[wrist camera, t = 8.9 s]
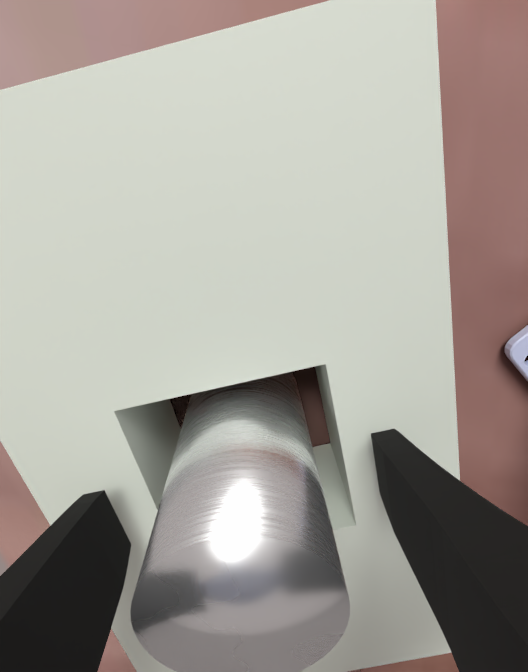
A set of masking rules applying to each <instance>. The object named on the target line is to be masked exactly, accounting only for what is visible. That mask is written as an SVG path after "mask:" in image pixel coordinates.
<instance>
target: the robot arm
mask: <svg viewBox="0 0 528 672" xmlns="http://www.w3.org/2000/svg"><path fill="white" fill-rule="evenodd" d="M505 354H506V356H507V357H508V359H509V360H510V361H511V362H512V363H513V365H514V366H515V367H516V368H517V369H518V371H519V372H520V373H521V374H522V375H523V377H524V378H525V379H526V380H527V381H528V360H527V361H525V358H526V357H527V356H528V325H527V326H526V327H525V328H523V329H522V330H521V331H520V332H518V333H517V334H516V335H514V336H513V337H512V338H511V339H510V340H509V341H508V342H507V344H506V346H505ZM524 361H525V362H524ZM371 439H372V446H373V452H374V459H375V465H376V472H377V478H378V485H379V492H380V496H381V498H382V501H383V504H384V507H385V509H386V512H387V515H388V518H389V520H390V523H391V526H392V528H393V531H394V533H395V536H396V538H397V540H398V542H399V544H400V546H401V548H402V550H403V552H404V554H405V556H406V558H407V560H408V562H409V564H410V566H411V569H412V571H413V573H414V575H415V577H416V579H417V581H418V583H419V585H420V587H421V589H422V591H423V593H424V595H425V597H426V599H427V601H428V603H429V605H430V607H431V609H432V611H433V613H434V615H435V617H436V619H437V621H438V624H439V626H440V628H441V630H442V632H443V634H444V636H445V639H446V641H447V643H448V645H449V648H450V650H451V652H452V655H453V657H454V660H455V662H456V665H457V667H458V670H459V672H528V526H526V525H525V524H523V523H521V522H520V521H518V520H517V519H515V518H513V517H512V516H510V515H509V514H507V513H506V512H504V511H503V510H501V509H500V508H498V507H497V506H495V505H494V504H492V503H491V502H489V501H488V500H486V499H485V498H483V497H482V496H480V495H479V494H477V493H476V492H475V491H473V490H472V489H470V488H469V487H468V486H466V485H465V484H464V483H462V482H461V481H460V480H458V479H457V478H456V477H454V476H453V475H452V474H450V473H449V472H448V471H446V470H445V469H444V468H442V467H441V466H440V465H438V464H437V463H436V462H435V461H433V460H432V459H431V458H430V457H428V456H427V455H426V454H425V453H423V452H422V451H421V450H420V449H419V448H417V447H416V446H415V445H414V444H413V443H412V442H410V441H409V440H408V439H407V438H406V437H405V436H403V435H402V434H401V433H400V432H399V431H397V430H396V429H390V430H385V431H380V432H375V433H371ZM130 550H131V543H130V541H129V539H128V537H127V535H126V532H125V530H124V528H123V526H122V524H121V522H120V520H119V518H118V516H117V514H116V512H115V510H114V508H113V506H112V504H111V502H110V500H109V498H108V496H107V494H106V492H105V490H102V491H97V492H92V493H88V494H83V495H82V496H81V497H80V498H78V499H77V500H76V501H75V502H74V503H73V504H72V505H71V506H70V507H69V508H68V509H67V510H66V511H65V512H64V513H63V514H62V515H61V516H60V517H59V518H58V519H57V520H56V521H55V522H54V523H53V524H52V525H51V526H50V527H49V528H48V529H47V530H46V531H45V532H44V533H43V534H42V535H41V536H40V537H39V538H38V539H37V540H36V541H35V542H34V543H33V544H32V545H31V546H30V547H29V548H28V549H27V550H26V551H25V552H24V553H23V554H22V555H21V556H20V557H19V558H18V559H17V560H16V561H15V562H14V563H13V564H12V565H11V566H10V567H9V568H8V569H7V570H6V571H5V572H4V573H3V574H2V575H1V576H0V672H97V671H98V668H99V664H100V661H101V658H102V655H103V652H104V649H105V645H106V642H107V639H108V636H109V633H110V630H111V626H112V623H113V620H114V617H115V614H116V610H117V607H118V604H119V600H120V597H121V594H122V590H123V587H124V582H125V577H126V573H127V568H128V562H129V556H130Z"/></svg>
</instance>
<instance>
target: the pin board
mask: <svg viewBox="0 0 528 672" xmlns="http://www.w3.org/2000/svg"><path fill="white" fill-rule="evenodd" d="M310 367H315V369H316V374H317V379H318V384H319V389H320V394H321V399H322V404H323V409H324V414H325V419H326V424H327V429H328V434H329V439H330V443H329V444H324V445H320V446H315V447H313V451H314V455H315V459H316V464H317V468H318V472H319V476H320V480H321V484H322V488H323V492H324V496H325V500H326V505H327V509H328V513H329V517H330V521H331V525H332V529H333V533H334V537H335V542H336V546H337V550H338V554H339V558H340V562H341V566H342V570H343V574H344V579H345V583H346V587H347V591H348V595H349V601H350V617H349V621H348V625H347V627H346V629H345V632H344V634H343V635H342V637H341V639H340V640H339V642H338V643H337V644H336V645H335V646H334V648H333V649H332V650H331V651H330V652H329V653H327V654H326V655H325V656H324V657H323V658H321V659H320V660H319V661H317V662H316V663H314V664H313V665H311V666H309V667H307V668H305V669H304V670H301V671H299V672H347V671H352V670H358V669H363V668H369V667H374V666H380V665H385V664H391V663H396V662H402V661H408V660H413V659H419V658H424V657H430V656H435V655H441V654H446V653H452V652H451V650H450V648H449V645H448V643H447V641H446V639H445V636H444V634H443V632H442V630H441V628H440V626H439V624H438V621H437V619H436V617H435V615H434V613H433V611H432V609H431V607H430V605H429V603H428V601H427V599H426V597H425V595H424V593H423V591H422V589H421V587H420V585H419V583H418V581H417V579H416V577H415V575H414V573H413V571H412V569H411V566H410V564H409V562H408V560H407V558H406V556H405V554H404V552H403V550H402V548H401V546H400V544H399V542H398V540H397V538H396V536H395V533H394V531H393V528H392V526H391V523H390V520H389V518H388V515H387V512H386V509H385V507H384V504H383V501H382V498H381V496H380V492H379V485H378V478H377V472H376V465H375V459H374V452H373V446H372V439H371V433H375V432H380V431H385V430H390V429H396V430H397V431H399V432H400V433H401V434H402V435H403V436H405V437H406V438H407V439H408V440H409V441H410V442H412V443H413V444H414V445H415V446H416V447H417V448H419V449H420V450H421V451H422V452H423V453H425V454H426V455H427V456H428V457H430V458H431V459H432V460H433V461H435V462H436V463H437V464H438V465H440V466H441V467H442V468H444V469H445V470H446V471H448V472H449V473H450V474H452V475H453V476H454V477H456V478H457V479H458V480H460V472H459V452H458V432H457V413H456V393H455V373H454V354H453V334H452V314H451V295H450V275H449V255H448V236H447V216H446V196H445V177H444V157H443V137H442V118H441V98H440V78H439V59H438V39H437V19H436V0H330V1H326V2H322V3H319V4H315V5H311V6H308V7H304V8H300V9H297V10H293V11H289V12H286V13H282V14H278V15H275V16H271V17H267V18H264V19H260V20H256V21H252V22H249V23H245V24H241V25H238V26H234V27H230V28H227V29H223V30H219V31H216V32H212V33H208V34H205V35H201V36H197V37H194V38H190V39H186V40H183V41H179V42H175V43H172V44H168V45H164V46H161V47H157V48H153V49H149V50H146V51H142V52H138V53H135V54H131V55H127V56H124V57H120V58H116V59H113V60H109V61H105V62H102V63H98V64H94V65H91V66H87V67H83V68H80V69H76V70H72V71H69V72H65V73H61V74H58V75H54V76H50V77H46V78H43V79H39V80H35V81H32V82H28V83H24V84H21V85H17V86H13V87H10V88H6V89H2V90H0V441H1V443H2V444H3V446H4V448H5V449H6V451H7V453H8V454H9V456H10V458H11V459H12V461H13V463H14V465H15V466H16V468H17V470H18V471H19V473H20V475H21V476H22V478H23V480H24V481H25V483H26V485H27V487H28V488H29V490H30V492H31V493H32V495H33V497H34V498H35V500H36V502H37V503H38V505H39V507H40V509H41V510H42V512H43V514H44V515H45V517H46V519H47V520H48V522H49V524H50V525H52V524H53V523H54V522H55V521H56V520H57V519H58V518H59V517H60V516H61V515H62V514H63V513H64V512H65V511H66V510H67V509H68V508H69V507H70V506H71V505H72V504H73V503H74V502H75V501H76V500H77V499H78V498H80V497H81V496H82V495H83V494H88V493H92V492H97V491H102V490H105V492H106V494H107V496H108V498H109V500H110V502H111V504H112V506H113V508H114V510H115V512H116V514H117V516H118V518H119V520H120V522H121V524H122V526H123V528H124V530H125V532H126V535H127V537H128V539H129V541H130V543H131V550H130V556H129V562H128V568H127V573H126V577H125V582H124V587H123V590H122V594H121V597H120V600H119V604H118V607H117V610H116V614H115V617H114V620H113V623H112V626H111V629H112V630H113V632H114V634H115V636H116V637H117V639H118V641H119V642H120V644H121V646H122V647H123V649H124V651H125V652H126V654H127V656H128V658H129V659H130V661H131V663H132V664H133V666H134V668H135V669H136V671H137V672H176V671H174V670H172V669H170V668H168V667H166V666H165V665H163V664H161V663H160V662H158V661H157V660H156V659H155V658H153V657H152V656H151V655H150V654H149V653H148V652H147V651H146V650H145V649H144V648H143V646H142V645H141V643H140V642H139V641H138V639H137V637H136V635H135V633H134V631H133V627H132V623H131V615H130V610H131V602H132V598H133V595H134V591H135V588H136V585H137V581H138V578H139V574H140V571H141V567H142V564H143V560H144V557H145V553H146V550H147V546H148V543H149V539H150V536H151V532H152V529H153V526H154V522H155V519H156V515H157V512H158V508H159V505H160V501H161V498H162V494H163V491H164V487H165V484H166V480H167V477H168V473H169V470H170V466H171V463H172V460H173V456H174V453H175V449H176V446H177V442H178V439H179V435H180V432H181V428H180V426H179V423H178V420H177V418H176V415H175V412H174V409H173V407H172V404H171V401H170V399H171V398H175V397H180V396H184V395H189V394H193V393H198V392H202V391H207V390H211V389H216V388H220V387H225V386H229V385H234V384H238V383H243V382H247V381H252V380H256V379H261V378H265V377H270V376H274V375H279V374H283V373H288V372H292V371H297V370H301V369H306V368H310Z"/></svg>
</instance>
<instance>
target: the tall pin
mask: <svg viewBox="0 0 528 672" xmlns="http://www.w3.org/2000/svg"><path fill="white" fill-rule="evenodd" d="M130 615H131V623H132V627H133V631H134V633H135V635H136V637H137V639H138V641H139V642H140V643H141V645H142V646H143V648H144V649H145V650H146V651H147V652H148V653H149V654H150V655H151V656H152V657H153V658H155V659H156V660H157V661H158V662H160V663H161V664H163V665H165V666H166V667H168V668H170V669H172V670H174V671H176V672H299V671H301V670H304V669H305V668H307V667H309V666H311V665H313V664H314V663H316V662H317V661H319V660H320V659H321V658H323V657H324V656H325V655H326V654H327V653H329V652H330V651H331V650H332V649H333V648H334V646H335V645H336V644H337V643H338V642H339V640H340V639H341V637H342V635H343V634H344V632H345V629H346V627H347V625H348V621H349V617H350V601H349V595H348V591H347V587H346V583H345V579H344V574H343V570H342V566H341V562H340V558H339V554H338V550H337V546H336V542H335V537H334V533H333V529H332V525H331V521H330V517H329V513H328V509H327V505H326V500H325V496H324V492H323V488H322V484H321V480H320V476H319V472H318V468H317V464H316V459H315V455H314V451H313V447H312V443H311V439H310V435H309V431H308V427H307V422H306V418H305V414H304V410H303V406H302V402H301V398H300V394H299V390H298V386H297V382H296V379H295V377H294V375H293V373H292V372H288V373H283V374H279V375H274V376H270V377H265V378H261V379H256V380H252V381H247V382H243V383H238V384H234V385H229V386H225V387H220V388H216V389H211V390H207V391H202V392H198V393H193V394H191V397H190V400H189V404H188V407H187V411H186V414H185V418H184V421H183V425H182V428H181V432H180V435H179V439H178V442H177V446H176V449H175V453H174V456H173V460H172V463H171V466H170V470H169V473H168V477H167V480H166V484H165V487H164V491H163V494H162V498H161V501H160V505H159V508H158V512H157V515H156V519H155V522H154V526H153V529H152V532H151V536H150V539H149V543H148V546H147V550H146V553H145V557H144V560H143V564H142V567H141V571H140V574H139V578H138V581H137V585H136V588H135V591H134V595H133V598H132V602H131V610H130Z"/></svg>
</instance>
